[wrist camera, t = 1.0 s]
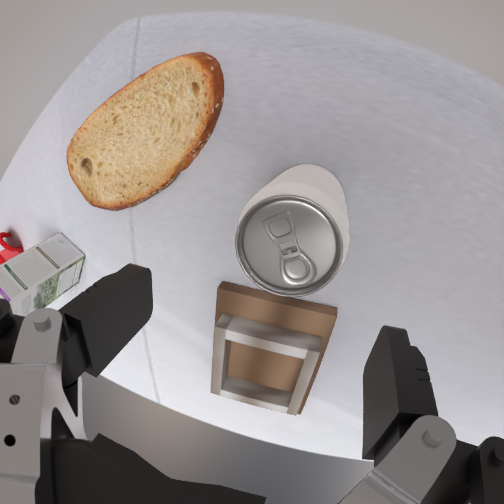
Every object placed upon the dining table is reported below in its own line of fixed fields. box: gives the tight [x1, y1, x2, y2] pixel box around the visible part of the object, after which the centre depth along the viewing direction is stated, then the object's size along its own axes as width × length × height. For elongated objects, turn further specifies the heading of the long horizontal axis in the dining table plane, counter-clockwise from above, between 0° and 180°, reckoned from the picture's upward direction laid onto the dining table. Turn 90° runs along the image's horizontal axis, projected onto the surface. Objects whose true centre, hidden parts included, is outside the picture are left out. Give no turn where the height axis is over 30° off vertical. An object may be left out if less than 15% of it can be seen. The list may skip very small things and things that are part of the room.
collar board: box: [211, 281, 337, 415], centre depth 32 cm, size 12×16×4 cm
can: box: [235, 164, 350, 297], centre depth 21 cm, size 6×6×12 cm
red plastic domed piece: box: [0, 232, 23, 265], centre depth 39 cm, size 8×6×6 cm
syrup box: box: [0, 233, 85, 317], centre depth 31 cm, size 6×6×14 cm
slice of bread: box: [67, 52, 224, 211], centre depth 27 cm, size 18×18×4 cm
